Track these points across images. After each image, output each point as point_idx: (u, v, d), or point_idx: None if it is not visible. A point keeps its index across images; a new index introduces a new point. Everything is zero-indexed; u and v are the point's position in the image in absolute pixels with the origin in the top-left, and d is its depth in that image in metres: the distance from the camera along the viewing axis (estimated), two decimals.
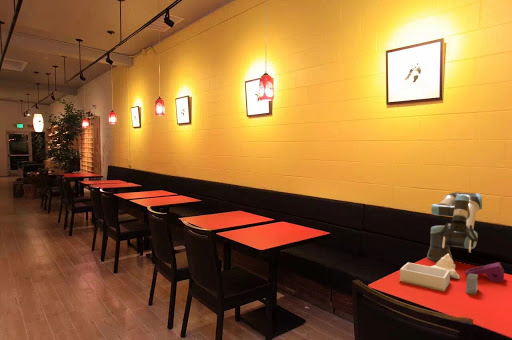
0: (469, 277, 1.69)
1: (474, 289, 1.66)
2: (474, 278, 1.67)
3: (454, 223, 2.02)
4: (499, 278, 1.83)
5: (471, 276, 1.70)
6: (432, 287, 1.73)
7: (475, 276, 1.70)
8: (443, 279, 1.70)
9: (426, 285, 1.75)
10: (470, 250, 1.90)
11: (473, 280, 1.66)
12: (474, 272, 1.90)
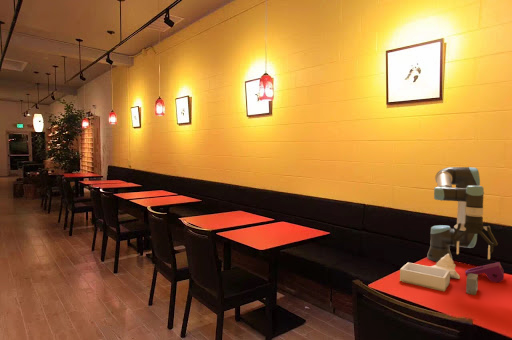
0: (469, 277, 1.69)
1: (474, 289, 1.66)
2: (474, 278, 1.67)
3: (468, 224, 1.70)
4: (499, 277, 1.83)
5: (471, 276, 1.70)
6: (432, 287, 1.73)
7: (475, 276, 1.70)
8: (443, 279, 1.70)
9: (426, 285, 1.75)
10: (489, 257, 1.65)
11: (473, 280, 1.66)
12: (474, 272, 1.90)
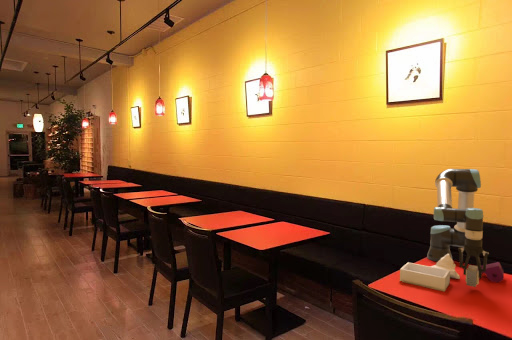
0: (469, 269, 1.69)
1: (474, 280, 1.66)
2: (474, 270, 1.67)
3: (466, 246, 1.71)
4: (498, 277, 1.83)
5: (471, 268, 1.70)
6: (432, 287, 1.73)
7: (475, 268, 1.70)
8: (443, 279, 1.70)
9: (426, 285, 1.75)
10: (478, 282, 1.69)
11: (474, 272, 1.66)
12: None
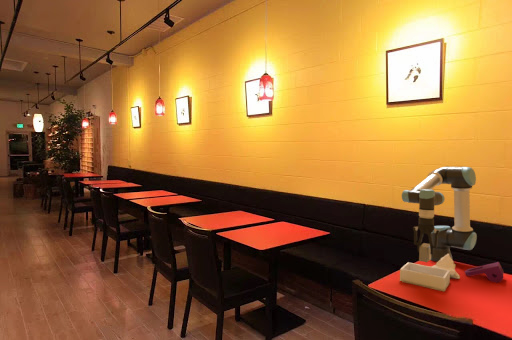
0: (422, 246, 1.80)
1: (426, 256, 1.78)
2: (426, 246, 1.79)
3: (420, 225, 1.83)
4: (498, 278, 1.83)
5: (424, 245, 1.82)
6: (432, 287, 1.73)
7: (428, 245, 1.82)
8: (443, 279, 1.70)
9: (426, 285, 1.75)
10: (430, 258, 1.81)
11: (425, 248, 1.78)
12: (473, 272, 1.90)
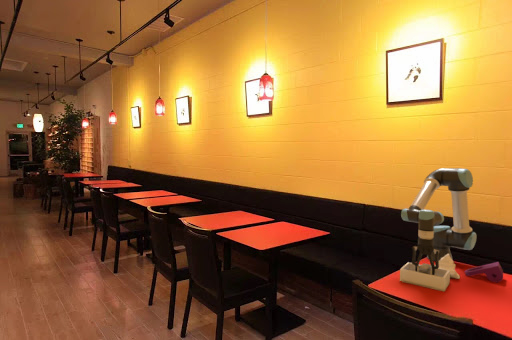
0: (422, 267, 1.81)
1: None
2: (426, 267, 1.80)
3: (419, 245, 1.83)
4: (498, 277, 1.83)
5: (424, 266, 1.82)
6: (432, 287, 1.73)
7: (428, 266, 1.83)
8: (443, 279, 1.70)
9: (426, 285, 1.75)
10: None
11: (425, 269, 1.78)
12: (473, 272, 1.90)
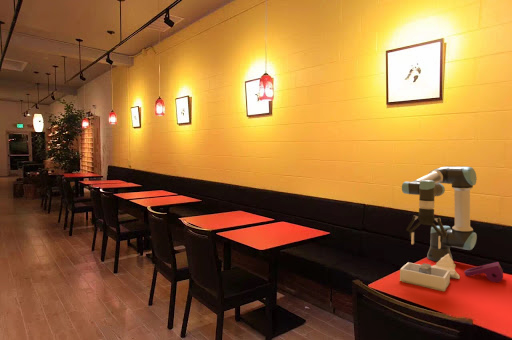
0: (422, 267, 1.81)
1: None
2: (426, 267, 1.80)
3: (421, 216, 1.82)
4: (498, 277, 1.83)
5: (424, 266, 1.82)
6: (432, 287, 1.73)
7: (428, 266, 1.83)
8: (443, 279, 1.70)
9: (426, 285, 1.75)
10: (440, 247, 1.78)
11: (425, 269, 1.78)
12: (473, 272, 1.90)
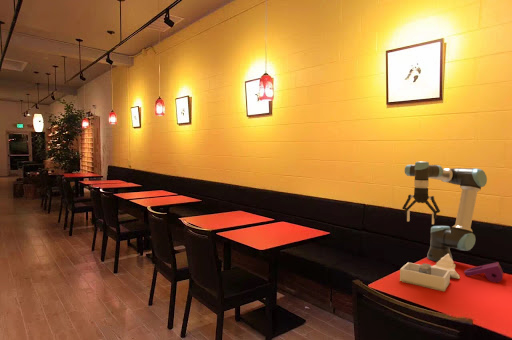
0: (422, 267, 1.81)
1: None
2: (426, 267, 1.80)
3: (416, 195, 1.97)
4: (498, 277, 1.83)
5: (424, 266, 1.82)
6: (432, 287, 1.73)
7: (428, 266, 1.83)
8: (443, 279, 1.70)
9: (426, 285, 1.75)
10: (433, 223, 1.92)
11: (425, 269, 1.78)
12: (473, 272, 1.90)
